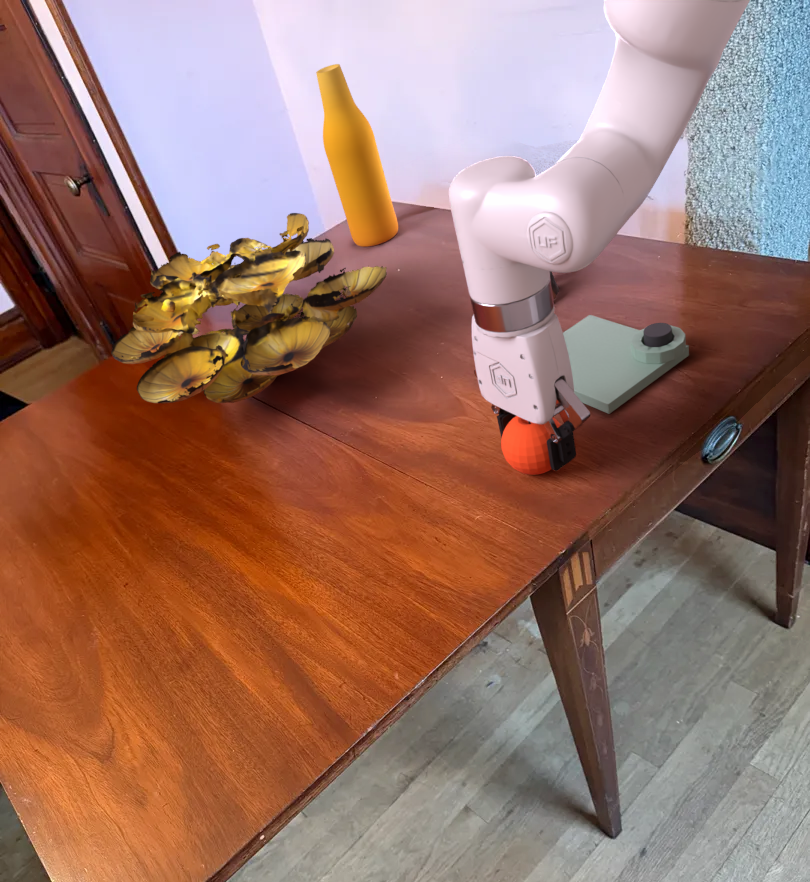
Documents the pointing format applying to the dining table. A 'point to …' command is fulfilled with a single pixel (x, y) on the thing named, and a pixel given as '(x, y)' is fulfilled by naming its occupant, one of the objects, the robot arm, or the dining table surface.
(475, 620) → the dining table surface
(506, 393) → the robot arm
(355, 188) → the beer bottle
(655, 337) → the tare button
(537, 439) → the clementine
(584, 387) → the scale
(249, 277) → the mushroom
